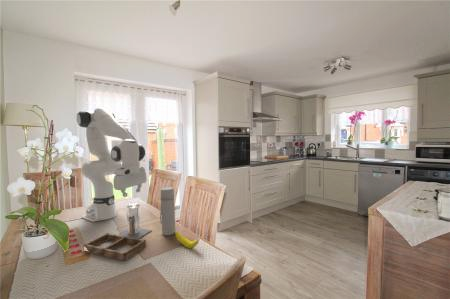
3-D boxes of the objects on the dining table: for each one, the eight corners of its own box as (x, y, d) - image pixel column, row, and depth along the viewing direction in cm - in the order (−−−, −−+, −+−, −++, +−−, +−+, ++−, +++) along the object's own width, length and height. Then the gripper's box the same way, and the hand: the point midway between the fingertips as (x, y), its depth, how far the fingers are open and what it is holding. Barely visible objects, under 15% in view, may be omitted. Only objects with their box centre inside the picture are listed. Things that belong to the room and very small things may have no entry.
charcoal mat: (115, 237, 114) (115, 236, 113) (132, 228, 125) (132, 227, 125) (135, 241, 109) (135, 240, 109) (151, 231, 120) (151, 230, 120)
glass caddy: (84, 251, 100) (83, 245, 100) (107, 238, 112) (107, 233, 112) (124, 260, 91) (124, 254, 91) (145, 246, 103) (145, 240, 103)
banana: (177, 239, 110) (177, 227, 110) (201, 251, 97) (201, 238, 97) (172, 241, 108) (172, 228, 108) (196, 254, 95) (196, 240, 95)
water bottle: (178, 231, 119) (177, 187, 118) (169, 237, 112) (167, 190, 110) (165, 228, 123) (164, 186, 121) (156, 234, 116) (154, 189, 114)
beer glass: (129, 229, 120) (129, 203, 120) (142, 229, 121) (141, 203, 121) (125, 235, 114) (124, 207, 113) (138, 234, 114) (138, 207, 114)
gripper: (140, 166, 125) (141, 189, 126) (110, 171, 106) (112, 198, 107) (148, 166, 123) (149, 190, 124) (120, 172, 104) (121, 200, 105)
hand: (131, 194), depth 116 cm, fingers open, 8 cm apart
